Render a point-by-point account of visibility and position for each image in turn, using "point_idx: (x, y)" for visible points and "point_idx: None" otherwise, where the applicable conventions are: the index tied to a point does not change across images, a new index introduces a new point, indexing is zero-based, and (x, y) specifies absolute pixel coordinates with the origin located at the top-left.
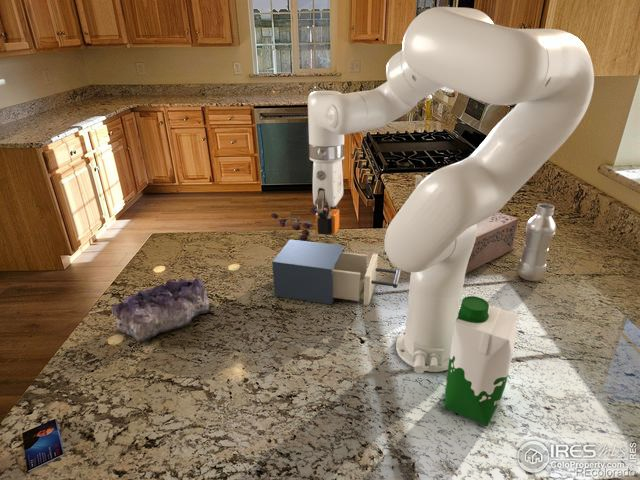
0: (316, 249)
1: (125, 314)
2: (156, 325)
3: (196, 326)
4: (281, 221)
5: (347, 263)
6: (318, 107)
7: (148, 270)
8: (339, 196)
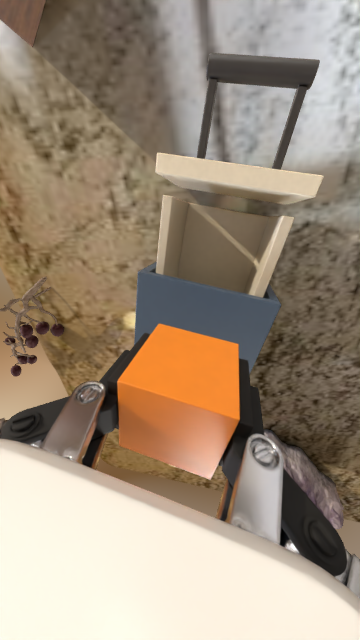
0: None
1: None
2: (325, 485)
3: (299, 438)
4: (26, 361)
5: (173, 254)
6: None
7: (178, 470)
8: (121, 588)
